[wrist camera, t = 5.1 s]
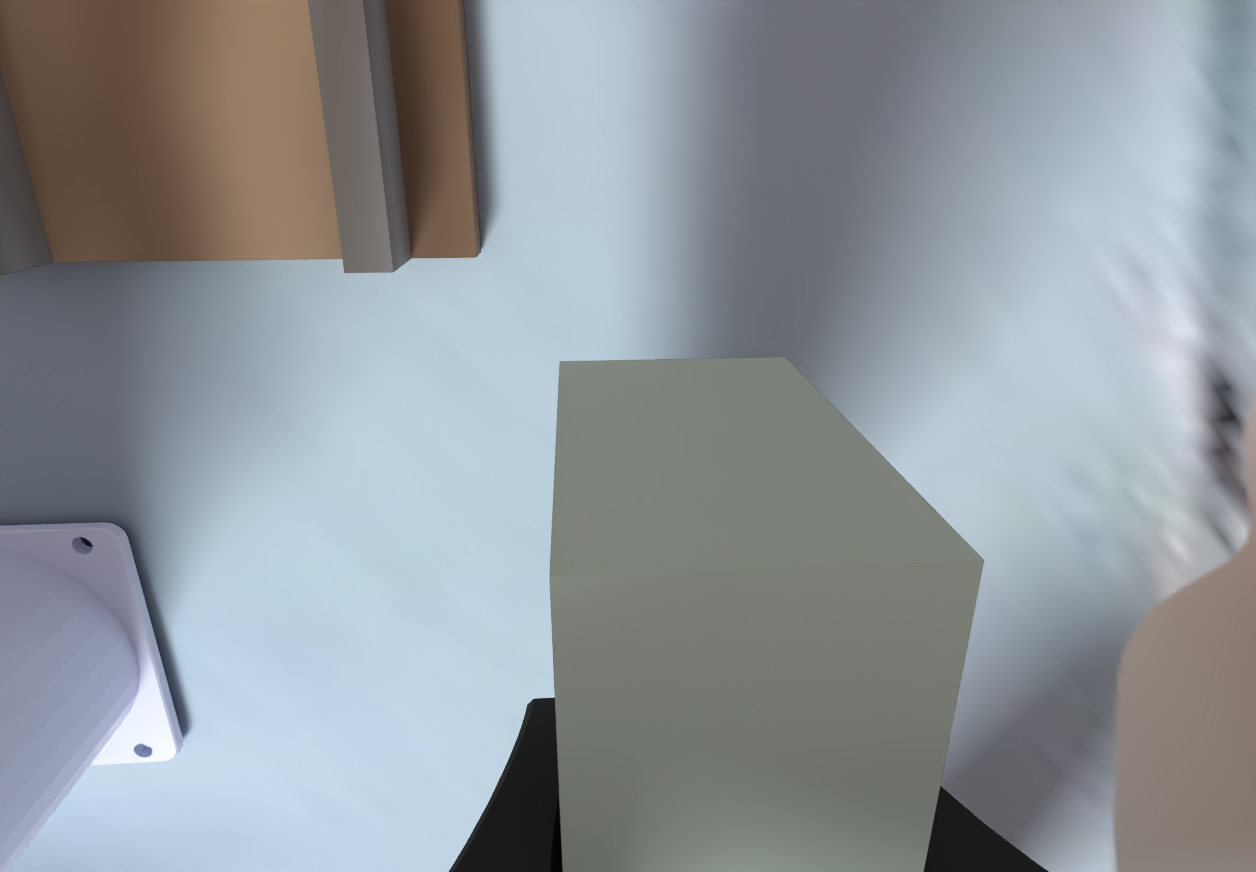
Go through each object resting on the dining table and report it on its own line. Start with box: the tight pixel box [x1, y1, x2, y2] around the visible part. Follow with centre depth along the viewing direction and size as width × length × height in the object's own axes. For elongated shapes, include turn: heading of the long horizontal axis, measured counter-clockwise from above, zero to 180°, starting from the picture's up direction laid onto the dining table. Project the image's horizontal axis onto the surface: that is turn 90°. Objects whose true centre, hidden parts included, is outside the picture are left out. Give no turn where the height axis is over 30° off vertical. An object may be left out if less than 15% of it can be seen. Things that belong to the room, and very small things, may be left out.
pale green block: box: [550, 357, 984, 872], centre depth 12 cm, size 4×12×7 cm, turn 0°
